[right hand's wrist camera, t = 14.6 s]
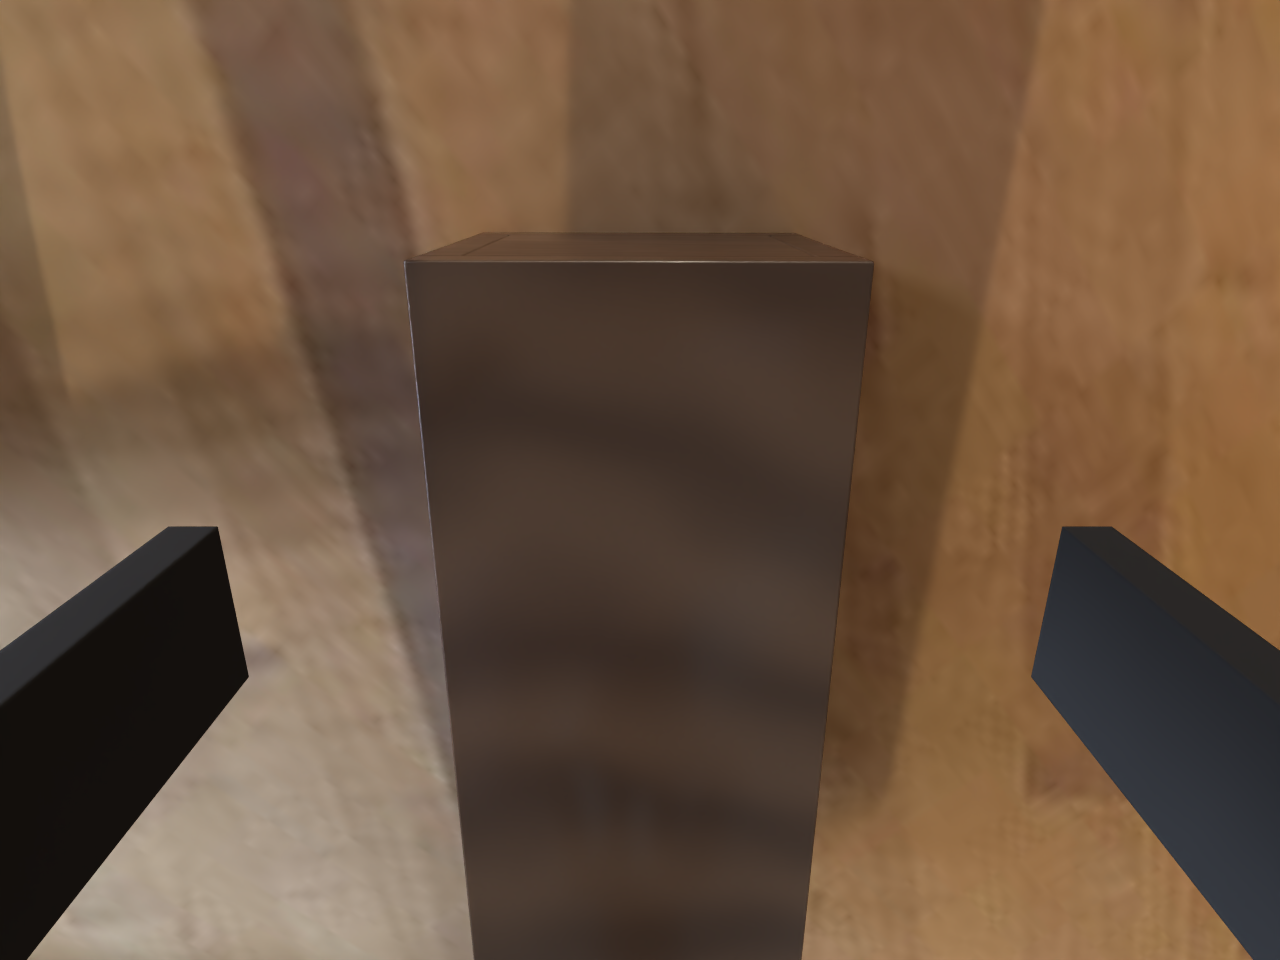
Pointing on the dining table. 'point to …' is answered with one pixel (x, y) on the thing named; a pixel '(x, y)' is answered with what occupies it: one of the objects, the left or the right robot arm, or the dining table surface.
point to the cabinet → (638, 576)
